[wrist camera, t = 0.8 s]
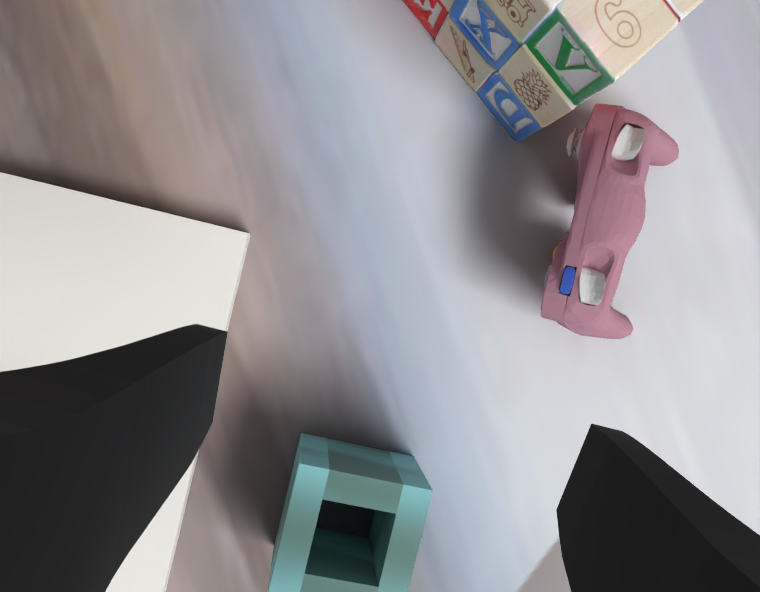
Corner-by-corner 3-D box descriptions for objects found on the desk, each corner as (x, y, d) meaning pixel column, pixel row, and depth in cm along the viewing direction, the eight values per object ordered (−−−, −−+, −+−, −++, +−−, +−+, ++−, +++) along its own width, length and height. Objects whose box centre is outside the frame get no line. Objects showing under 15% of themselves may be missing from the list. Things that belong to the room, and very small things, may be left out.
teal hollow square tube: (386, 567, 29) (400, 621, 24) (274, 545, 28) (266, 597, 24) (413, 456, 29) (432, 490, 24) (301, 432, 28) (299, 463, 24)
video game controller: (581, 132, 31) (577, 75, 24) (679, 146, 29) (703, 89, 23) (532, 323, 31) (514, 317, 24) (627, 347, 29) (635, 348, 23)
